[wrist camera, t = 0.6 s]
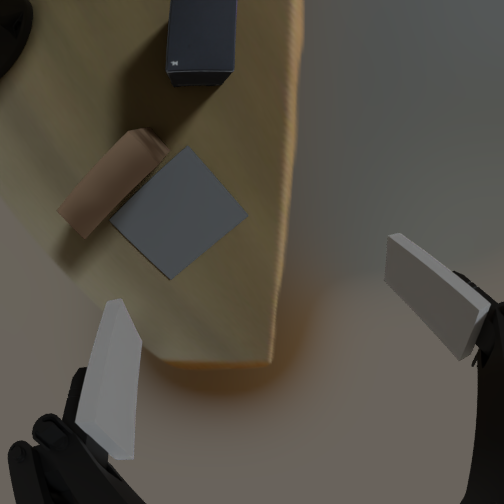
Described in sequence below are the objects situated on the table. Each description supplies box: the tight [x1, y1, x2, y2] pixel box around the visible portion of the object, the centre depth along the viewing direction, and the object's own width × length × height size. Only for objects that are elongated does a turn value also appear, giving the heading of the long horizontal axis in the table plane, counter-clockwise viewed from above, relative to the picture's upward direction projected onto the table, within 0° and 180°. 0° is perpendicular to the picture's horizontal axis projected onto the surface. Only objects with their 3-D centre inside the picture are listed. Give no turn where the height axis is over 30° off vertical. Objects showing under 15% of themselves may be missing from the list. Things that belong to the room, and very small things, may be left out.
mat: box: [109, 146, 248, 280], centre depth 38 cm, size 12×14×1 cm
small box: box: [166, 0, 237, 87], centre depth 25 cm, size 11×6×10 cm, turn 178°
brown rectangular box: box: [57, 127, 170, 240], centre depth 29 cm, size 4×10×12 cm, turn 128°
